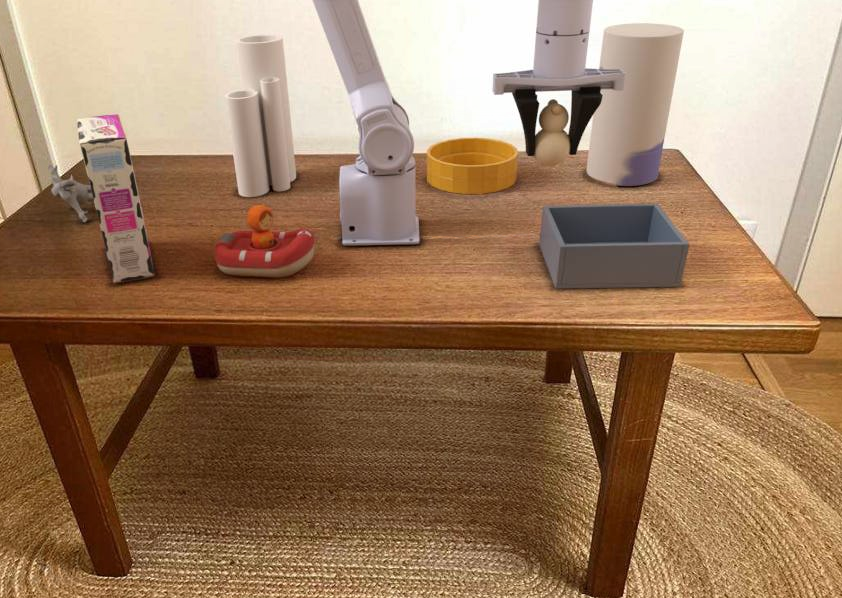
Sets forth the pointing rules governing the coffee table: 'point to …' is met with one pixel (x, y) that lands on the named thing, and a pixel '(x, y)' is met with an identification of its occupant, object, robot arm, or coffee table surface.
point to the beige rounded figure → (552, 135)
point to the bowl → (472, 165)
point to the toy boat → (264, 248)
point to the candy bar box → (115, 197)
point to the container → (634, 103)
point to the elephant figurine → (70, 191)
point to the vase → (261, 117)
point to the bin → (612, 246)
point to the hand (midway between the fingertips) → (550, 153)
